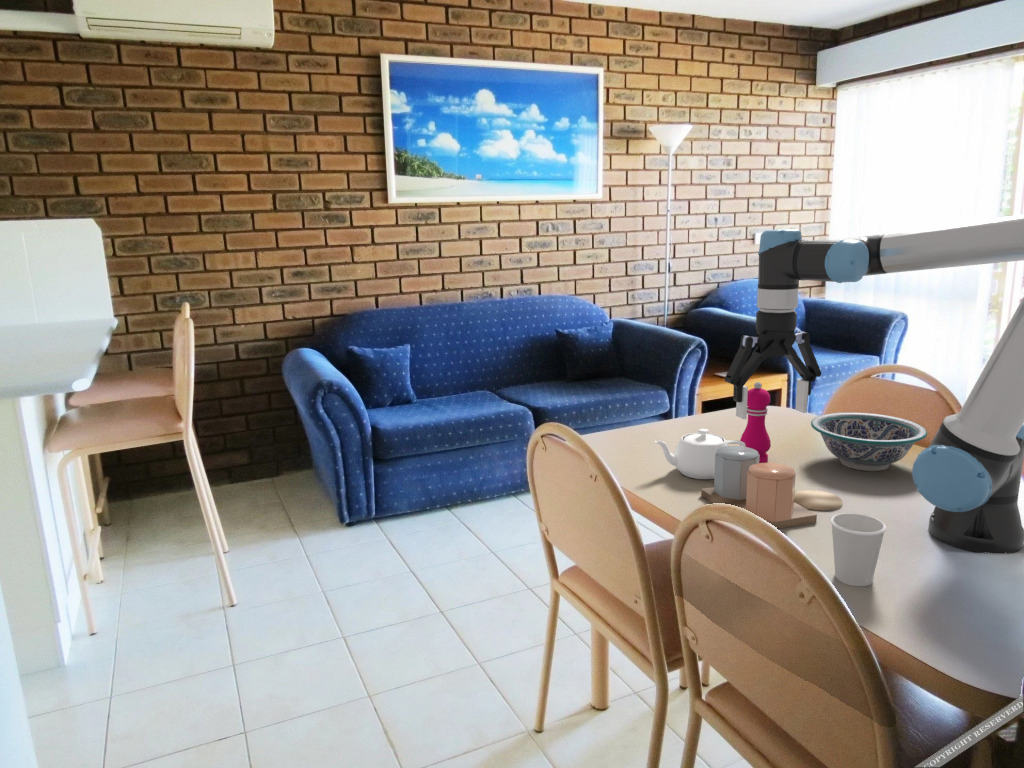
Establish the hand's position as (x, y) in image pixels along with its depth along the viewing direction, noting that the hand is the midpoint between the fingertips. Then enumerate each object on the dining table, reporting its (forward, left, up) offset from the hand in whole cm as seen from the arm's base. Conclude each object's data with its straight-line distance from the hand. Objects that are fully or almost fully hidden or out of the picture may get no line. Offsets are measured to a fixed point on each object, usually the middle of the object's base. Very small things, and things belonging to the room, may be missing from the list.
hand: (771, 414), depth 149 cm
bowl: (+15, -38, -20) cm, 45 cm away
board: (0, +2, -20) cm, 20 cm away
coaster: (-1, -12, -20) cm, 23 cm away
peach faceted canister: (-6, +3, -18) cm, 20 cm away
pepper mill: (+26, -15, -20) cm, 36 cm away
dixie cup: (-31, +4, -20) cm, 37 cm away
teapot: (+23, +2, -20) cm, 31 cm away
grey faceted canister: (+6, +3, -18) cm, 20 cm away
